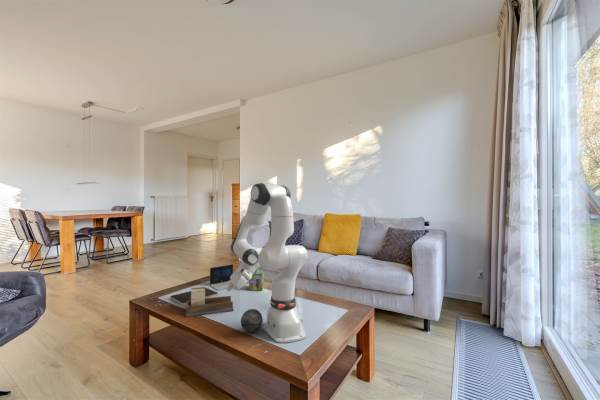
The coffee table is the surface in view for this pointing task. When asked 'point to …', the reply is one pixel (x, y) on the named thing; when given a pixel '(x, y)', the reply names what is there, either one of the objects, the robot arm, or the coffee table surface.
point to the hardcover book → (186, 296)
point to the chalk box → (257, 281)
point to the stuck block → (197, 296)
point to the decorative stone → (251, 320)
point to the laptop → (220, 276)
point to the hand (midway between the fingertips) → (227, 289)
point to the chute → (210, 306)
